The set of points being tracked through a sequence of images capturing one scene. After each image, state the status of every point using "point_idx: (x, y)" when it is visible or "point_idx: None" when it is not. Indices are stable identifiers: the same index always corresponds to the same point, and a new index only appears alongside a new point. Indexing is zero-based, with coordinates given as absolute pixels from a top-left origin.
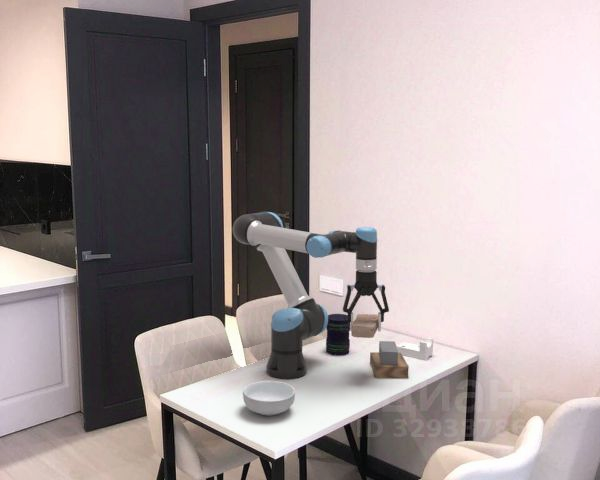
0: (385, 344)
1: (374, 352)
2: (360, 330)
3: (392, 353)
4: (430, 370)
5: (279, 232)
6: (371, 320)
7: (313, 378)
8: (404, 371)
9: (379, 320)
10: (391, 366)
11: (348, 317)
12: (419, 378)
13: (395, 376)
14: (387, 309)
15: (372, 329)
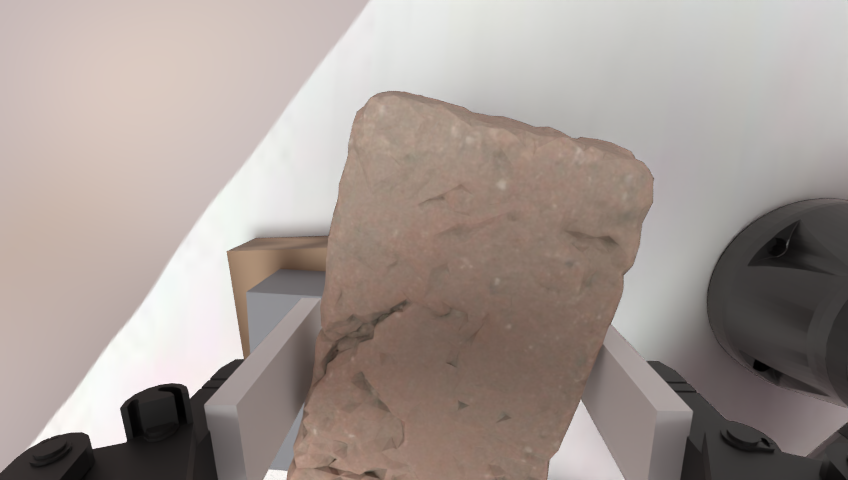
0: None
1: None
2: (529, 126)
3: (281, 291)
4: (160, 330)
5: None
6: (370, 403)
7: (683, 216)
8: (257, 245)
9: (269, 353)
10: (309, 249)
11: (694, 399)
12: (207, 238)
13: (306, 238)
14: (34, 469)
15: (381, 93)
